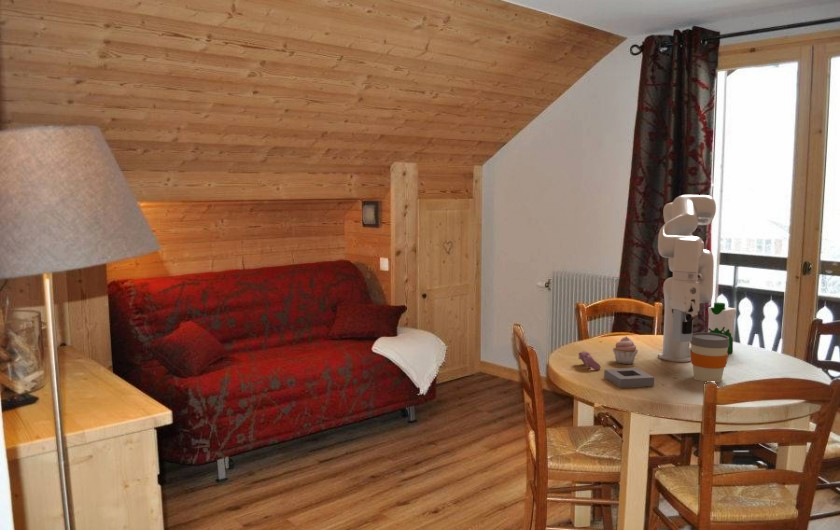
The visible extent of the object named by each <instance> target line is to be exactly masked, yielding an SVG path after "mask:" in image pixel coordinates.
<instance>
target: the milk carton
mask: <svg viewBox="0 0 840 530" xmlns="http://www.w3.org/2000/svg"><path fill="white" fill-rule="evenodd" d="M707 311H708V325H707V327H708V329H707V333H717V334H722V335H726V336H728V337H729V347H728V351H727V353H729V354H732V352H733V353H734V350H733V348H734V343H733V342H734V328H735V327H734V326H735V317H736V312H737V308H735V307H729V306H726V303H725V302H714V303H713V306H709V307H707Z"/></svg>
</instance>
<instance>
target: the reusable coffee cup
mask: <svg viewBox="0 0 840 530" xmlns="http://www.w3.org/2000/svg"><path fill="white" fill-rule="evenodd" d="M690 347H691V350H690V354H691V361H690V363H691V365H692V373H693V379H695V380H696V379H697V381H699V380H701V381H700V382H704V381H715V382H714V383H720V382H722V380H723V375H724V369H725V368H726V366H727V362H728V357H729V354H728V353H727V351H728V347H729V337H728V336H726V335H722V334H717V333H708V331H706V332H705V331H704V332H703V331H702V332H694V333H693V332H692V341H690Z"/></svg>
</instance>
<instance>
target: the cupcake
mask: <svg viewBox="0 0 840 530" xmlns="http://www.w3.org/2000/svg"><path fill="white" fill-rule="evenodd" d="M612 352H613V353H614V359H615V361H616V362H617V363H618V364H621V363H622V365H631V364H634V362H635V359H636V355H637V354H638V352H639V349H637V346H636V345H635V344H634V341H633V340H632V339H631V338H629V337H628V336H625V337H622V338H621V339H620V340H619V341H616V343H615V347H612Z"/></svg>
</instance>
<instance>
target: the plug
mask: <svg viewBox="0 0 840 530" xmlns="http://www.w3.org/2000/svg"><path fill="white" fill-rule="evenodd" d="M688 312H690V310H688ZM688 315H690V314H687V317H688ZM682 322H684V316H683V312H682V311H679V310H676V309H673V328H672V339H674V340H676V341H678V342H689V341H692V334H693V332H692V333H691V334H682ZM693 325H694V321H693V322H692V331H693V330H694V329H693Z"/></svg>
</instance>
